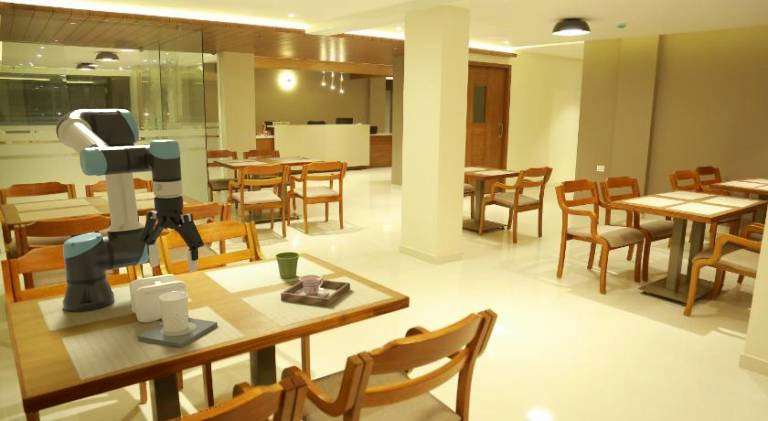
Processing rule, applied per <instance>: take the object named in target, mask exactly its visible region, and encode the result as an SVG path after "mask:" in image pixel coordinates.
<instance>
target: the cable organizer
mask: <svg viewBox="0 0 768 421" xmlns="http://www.w3.org/2000/svg"><path fill="white" fill-rule="evenodd" d="M174 291H183V292H186V293H188V290H187V285H186V283H185V282H184V281H182V280H178V278H177V276H176V275H175V274H172V273H170V274H168V273H167V274H163V275H162V274H161V275H155V276H150V277H149V276H148V277H143V278H137V279H134V280H132V281H131V282H130V283H129V293H130V306H131V310H132V312H133V313H134V314H136V319H137V320H138V321H139V322H141V323H153V322H157V321H158V320H162V315H161V310H160V302H159V296H161V295H162V294H165V293H168V292H174Z"/></svg>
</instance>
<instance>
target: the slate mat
mask: <svg viewBox="0 0 768 421" xmlns="http://www.w3.org/2000/svg"><path fill="white" fill-rule="evenodd" d="M217 327H218V321H212V320H206V319H201V318H200V319H199V318H193V317H188V328H187V329H185V330H183V331H180V332H173V333H172V332H166V331H165V330H164V328H163V322H162V323H160V324H158V325H157V326H155V327H152V328H151V329H148V330H147V331H145V332H143V333H141V334H139V335H137V340H138V341H141V342H147V343H151V344H157V345H163V346H168V347H169V346H170V347H173V346H174V348H180V349H182V348H183V347H185V346H187V345H189V344H191V343H192V342H193V341H195V340H197V339H198V338H200V337H202V336H203V335H205V334H207V333H208V332H210V331H212V330H213V329H215V328H217ZM181 347H182V348H181Z"/></svg>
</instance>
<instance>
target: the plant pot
mask: <svg viewBox="0 0 768 421" xmlns="http://www.w3.org/2000/svg"><path fill="white" fill-rule="evenodd" d="M274 256H275V258H276V261H277V264H278V272H279V277H280V278H281V279H284V280H285V279H294V278H295V277H296V276H297V269H298V261H299V258H300V256H301V255H300V253H298V252H296V251H295V252H294V251H285V252H284V251H283V252H279V253H277V254H275V255H274Z"/></svg>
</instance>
